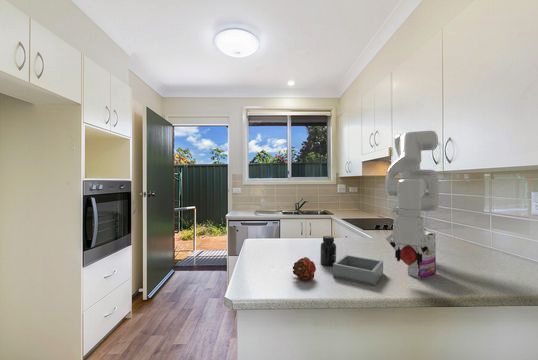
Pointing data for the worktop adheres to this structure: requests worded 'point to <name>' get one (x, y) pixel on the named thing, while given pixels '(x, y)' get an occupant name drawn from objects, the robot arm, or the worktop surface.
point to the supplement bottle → (328, 251)
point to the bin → (358, 269)
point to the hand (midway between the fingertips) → (408, 261)
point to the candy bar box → (425, 260)
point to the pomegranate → (408, 255)
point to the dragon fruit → (304, 268)
